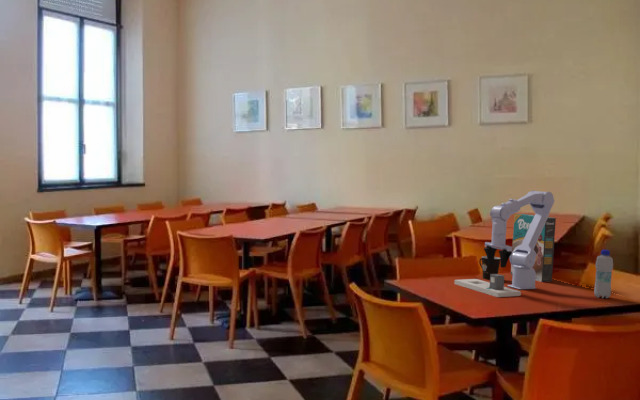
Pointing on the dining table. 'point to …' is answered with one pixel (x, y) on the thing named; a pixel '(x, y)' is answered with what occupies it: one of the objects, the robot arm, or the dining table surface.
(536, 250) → the cake mix box
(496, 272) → the coffee mug
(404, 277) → the dining table surface
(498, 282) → the plug
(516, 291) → the panel
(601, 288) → the bottle
